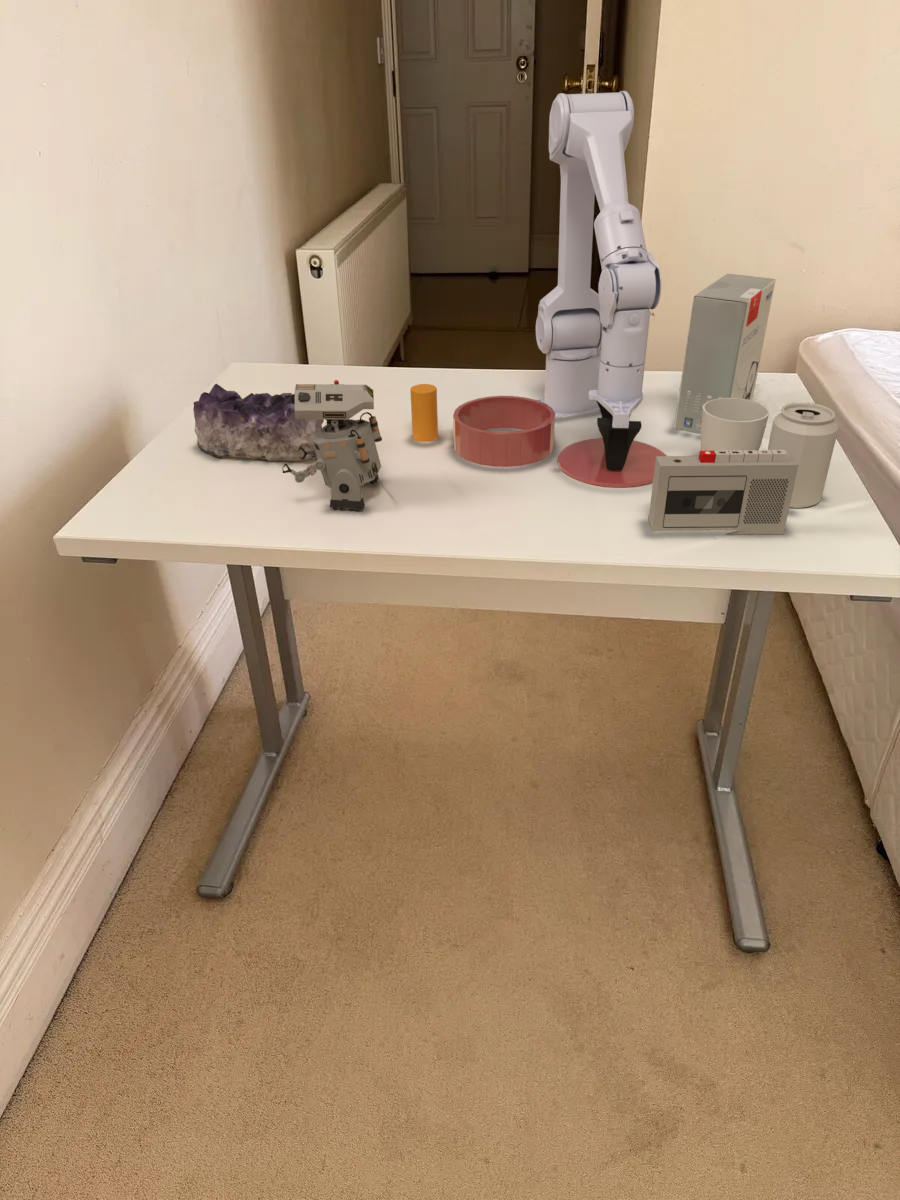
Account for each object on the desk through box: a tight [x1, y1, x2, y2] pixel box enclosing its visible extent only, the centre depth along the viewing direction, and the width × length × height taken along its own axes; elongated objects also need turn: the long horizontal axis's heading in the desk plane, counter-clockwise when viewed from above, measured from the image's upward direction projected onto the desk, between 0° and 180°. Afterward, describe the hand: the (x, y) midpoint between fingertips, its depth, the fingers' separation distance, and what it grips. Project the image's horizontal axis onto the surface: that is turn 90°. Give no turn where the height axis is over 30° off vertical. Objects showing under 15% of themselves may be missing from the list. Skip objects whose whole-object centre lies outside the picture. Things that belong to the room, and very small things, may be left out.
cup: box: [699, 398, 770, 451], centre depth 112 cm, size 8×8×10 cm
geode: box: [192, 383, 325, 462], centre depth 124 cm, size 20×12×10 cm, turn 84°
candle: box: [409, 383, 439, 443], centre depth 126 cm, size 4×4×8 cm
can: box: [767, 402, 840, 509], centre depth 107 cm, size 8×8×12 cm
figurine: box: [281, 379, 383, 512], centre depth 110 cm, size 9×12×15 cm
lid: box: [557, 437, 667, 488], centre depth 118 cm, size 15×15×5 cm
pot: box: [452, 395, 556, 468], centre depth 124 cm, size 14×14×5 cm
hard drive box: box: [673, 273, 777, 435], centre depth 127 cm, size 16×8×20 cm, turn 148°
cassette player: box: [648, 449, 799, 535], centre depth 101 cm, size 16×3×10 cm, turn 89°
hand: (613, 457), depth 118 cm, fingers open, 7 cm apart
